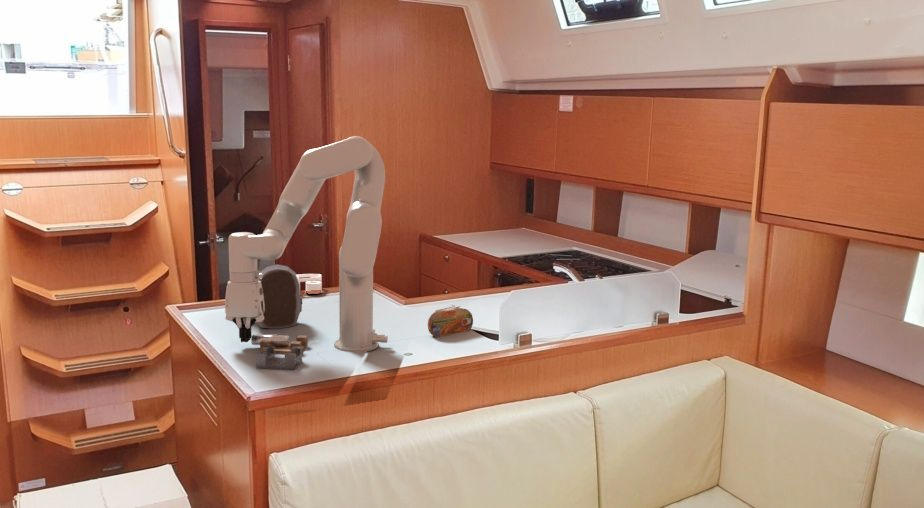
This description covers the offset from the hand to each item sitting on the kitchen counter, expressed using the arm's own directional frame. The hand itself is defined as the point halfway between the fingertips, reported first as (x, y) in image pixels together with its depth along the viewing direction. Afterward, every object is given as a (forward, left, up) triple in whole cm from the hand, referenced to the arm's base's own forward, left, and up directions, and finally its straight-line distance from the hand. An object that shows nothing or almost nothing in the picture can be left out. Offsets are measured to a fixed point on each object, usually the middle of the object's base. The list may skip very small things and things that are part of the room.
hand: (245, 340), depth 214 cm
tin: (-56, -21, -2) cm, 60 cm away
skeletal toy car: (+4, -65, -2) cm, 65 cm away
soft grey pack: (-2, -23, -2) cm, 23 cm away
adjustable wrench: (-51, -34, -2) cm, 61 cm away
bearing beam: (-11, 0, -2) cm, 11 cm away
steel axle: (-7, 0, 0) cm, 7 cm away
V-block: (-14, +14, -2) cm, 20 cm away
